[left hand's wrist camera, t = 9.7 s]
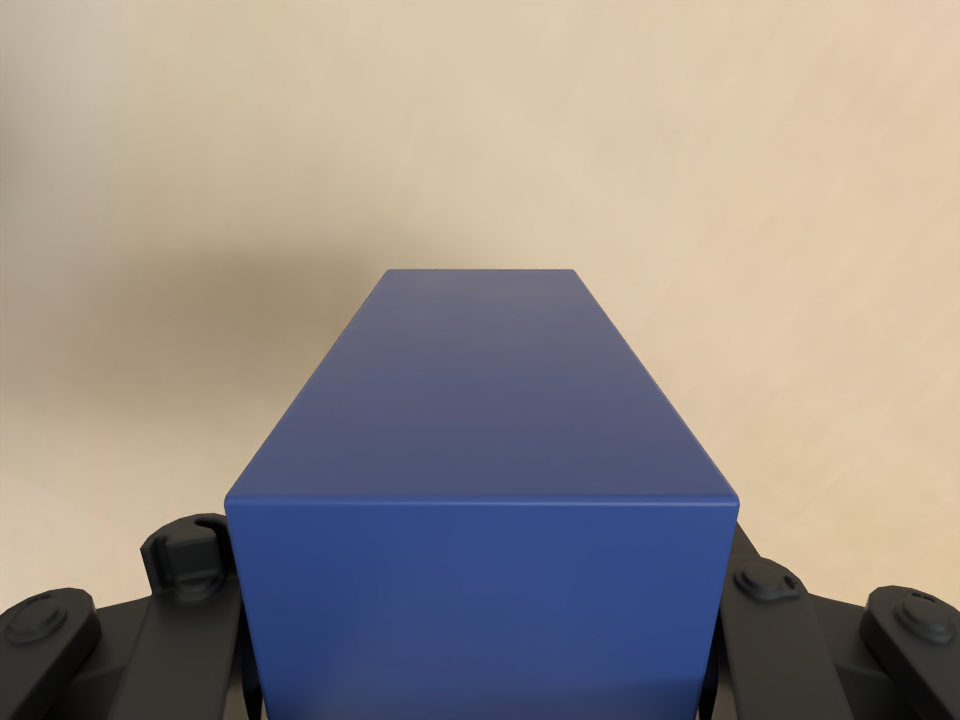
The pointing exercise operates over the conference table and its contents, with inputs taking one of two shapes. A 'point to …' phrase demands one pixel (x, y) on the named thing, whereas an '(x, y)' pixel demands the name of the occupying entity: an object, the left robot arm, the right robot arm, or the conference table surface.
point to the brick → (481, 517)
